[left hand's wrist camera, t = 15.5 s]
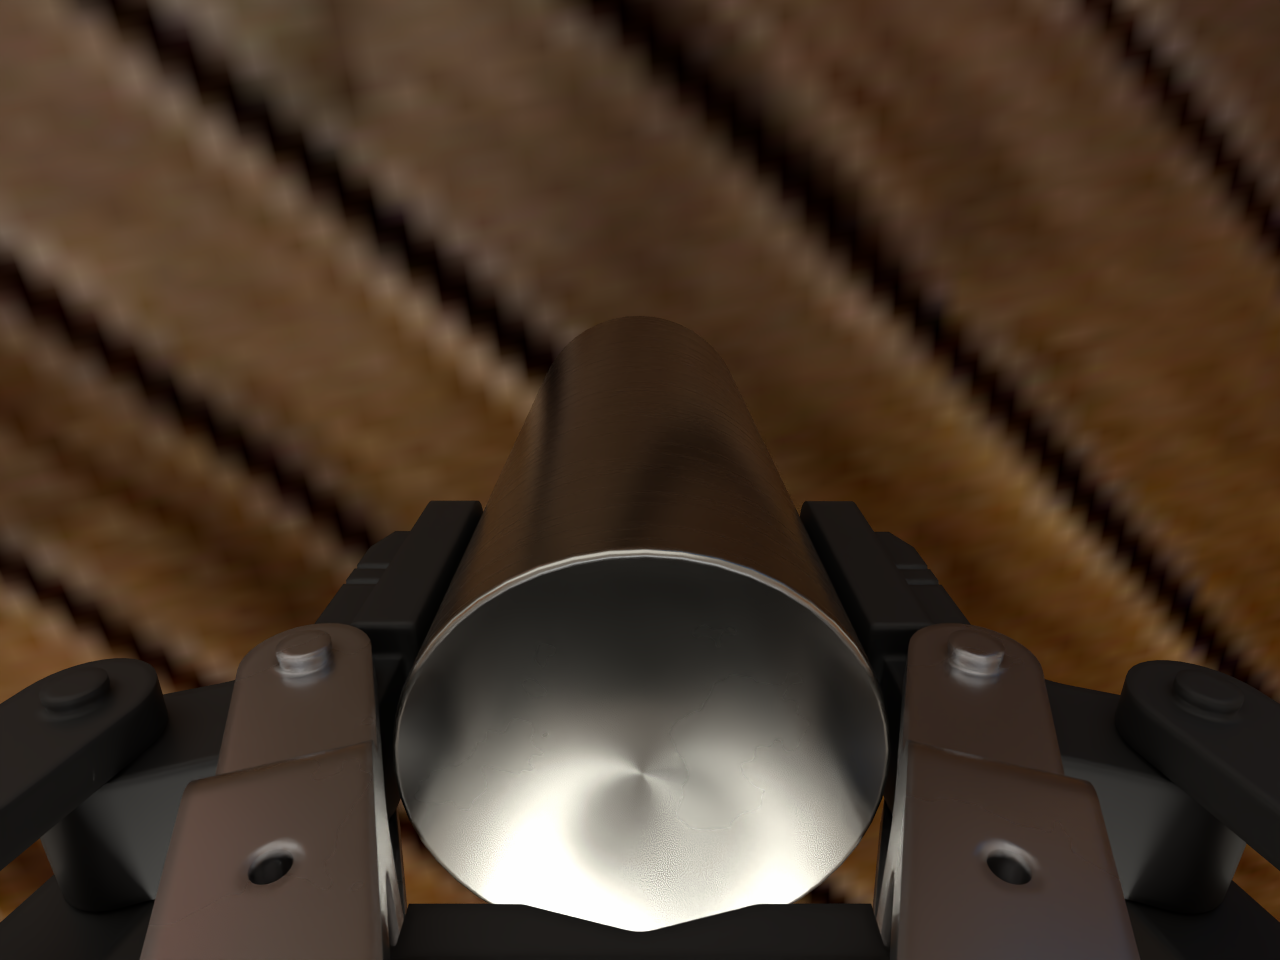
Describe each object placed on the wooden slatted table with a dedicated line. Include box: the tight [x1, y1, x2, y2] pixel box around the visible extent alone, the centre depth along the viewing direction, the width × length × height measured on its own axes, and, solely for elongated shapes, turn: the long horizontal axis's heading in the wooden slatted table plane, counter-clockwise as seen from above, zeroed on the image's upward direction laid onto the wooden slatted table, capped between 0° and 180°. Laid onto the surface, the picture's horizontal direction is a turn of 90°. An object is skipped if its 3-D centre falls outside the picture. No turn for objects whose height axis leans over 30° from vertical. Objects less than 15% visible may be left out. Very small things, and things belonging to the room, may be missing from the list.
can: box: [392, 316, 891, 931], centre depth 13 cm, size 5×5×12 cm
